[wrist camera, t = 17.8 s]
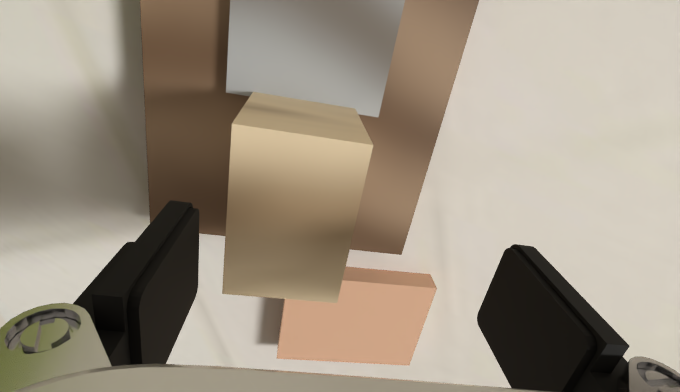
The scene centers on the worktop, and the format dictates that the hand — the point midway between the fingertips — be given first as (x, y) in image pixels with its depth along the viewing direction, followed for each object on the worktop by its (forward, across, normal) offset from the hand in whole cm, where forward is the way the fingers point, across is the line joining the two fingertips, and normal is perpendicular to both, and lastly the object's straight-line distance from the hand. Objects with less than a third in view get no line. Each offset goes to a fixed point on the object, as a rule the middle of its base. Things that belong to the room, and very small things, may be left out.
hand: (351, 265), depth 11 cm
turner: (+6, +2, -4) cm, 8 cm away
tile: (+7, -6, +8) cm, 13 cm away
